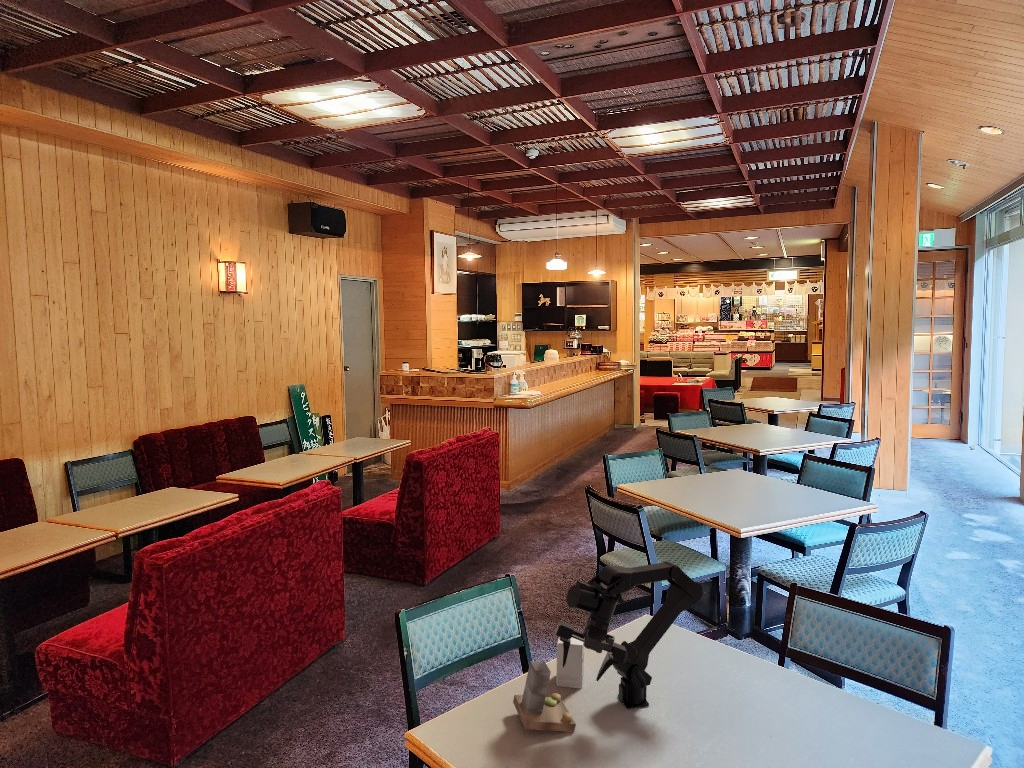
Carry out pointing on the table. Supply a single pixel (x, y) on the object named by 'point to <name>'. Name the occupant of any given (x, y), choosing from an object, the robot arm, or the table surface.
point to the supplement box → (570, 664)
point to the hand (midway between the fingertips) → (580, 673)
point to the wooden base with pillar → (542, 703)
